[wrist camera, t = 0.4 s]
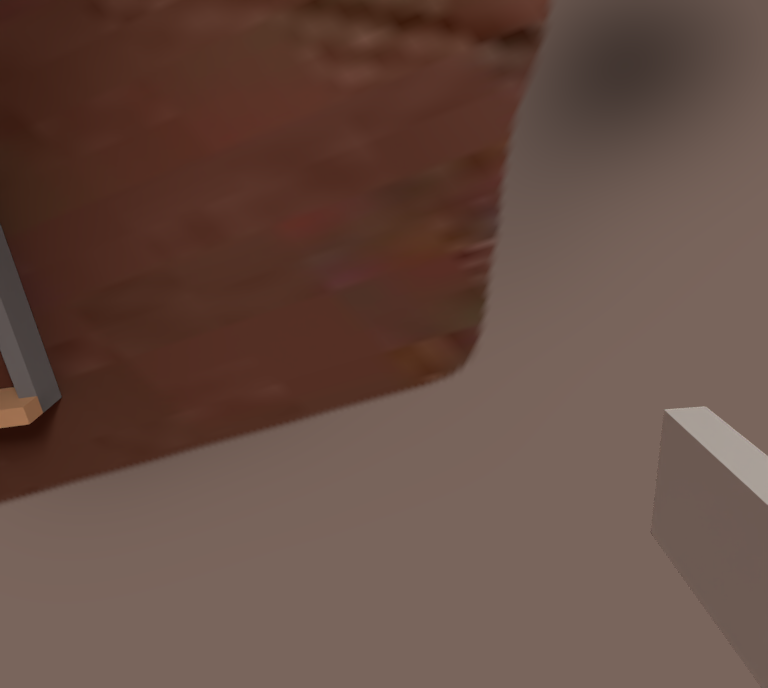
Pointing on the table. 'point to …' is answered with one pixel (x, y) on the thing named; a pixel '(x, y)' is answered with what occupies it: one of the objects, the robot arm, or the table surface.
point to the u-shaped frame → (21, 351)
